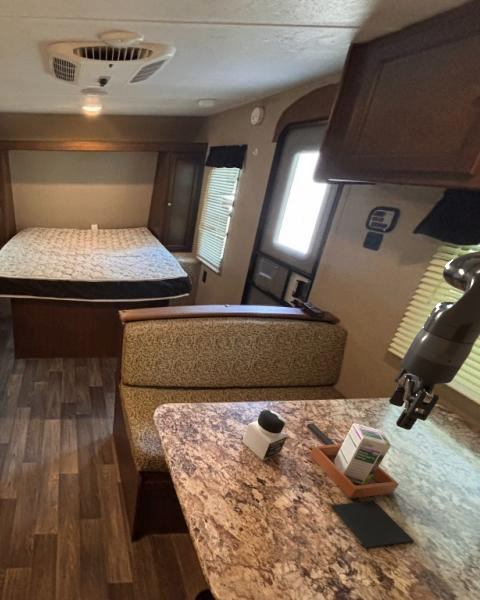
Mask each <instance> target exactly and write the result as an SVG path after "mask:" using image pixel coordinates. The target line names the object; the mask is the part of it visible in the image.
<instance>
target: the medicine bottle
mask: <svg viewBox="0 0 480 600" xmlns="http://www.w3.org/2000/svg"><path fill="white" fill-rule="evenodd" d="M285 425H286V420H285V419H284V418H283V416H282V415H281V414H279V413H278V412H276V411H273V410H270V409H264V410H261V411H260V413H259V415H258V418H257V420H255V421H252V422H250V423H248V424H247V426H246V430H245V433H244V435H243V438H242V443H243V444H244V445H245V446H246V447H247V448H248V449H249V450H251V451H252V453H254V454H255V455H256V456H257V457H258V458H259V459H260V460H261V461H262V462H263V461H267V460H268V459H271V458H272V457H275V456H277V455H279V454H281V452H282V449H283V447H284V445H285V443H286V441H287V438H288V434H287V433H286V432H285V431H283V430H284V427H285Z"/></svg>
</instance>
